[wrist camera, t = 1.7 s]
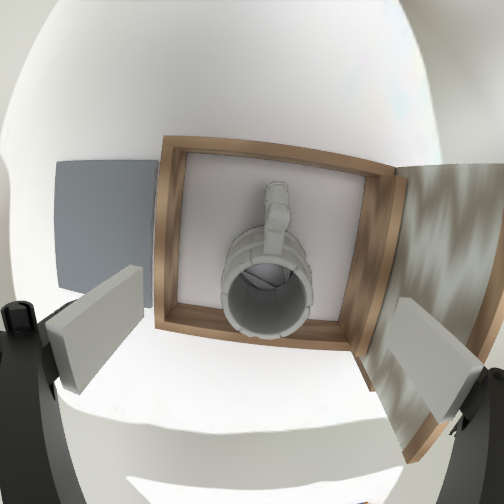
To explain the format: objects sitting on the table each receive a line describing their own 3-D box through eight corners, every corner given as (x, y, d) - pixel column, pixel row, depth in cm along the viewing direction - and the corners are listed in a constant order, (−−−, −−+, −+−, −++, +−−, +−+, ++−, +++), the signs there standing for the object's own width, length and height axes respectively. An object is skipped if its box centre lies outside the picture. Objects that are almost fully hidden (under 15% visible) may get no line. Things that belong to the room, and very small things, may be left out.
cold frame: (178, 142, 25) (47, 90, 7) (384, 171, 25) (532, 170, 7) (168, 315, 30) (87, 441, 12) (350, 336, 30) (413, 467, 11)
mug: (225, 292, 29) (203, 358, 17) (235, 178, 26) (213, 172, 15) (297, 300, 29) (315, 369, 17) (313, 187, 26) (351, 189, 14)
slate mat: (59, 162, 26) (56, 161, 26) (158, 161, 26) (156, 160, 25) (61, 285, 30) (58, 287, 29) (152, 306, 30) (150, 308, 29)
